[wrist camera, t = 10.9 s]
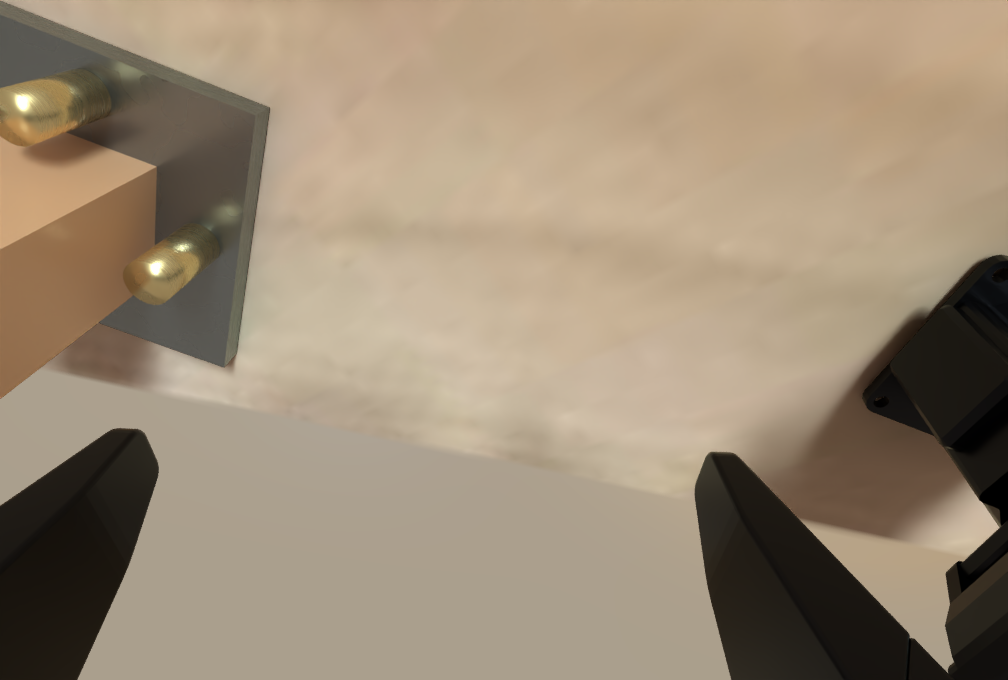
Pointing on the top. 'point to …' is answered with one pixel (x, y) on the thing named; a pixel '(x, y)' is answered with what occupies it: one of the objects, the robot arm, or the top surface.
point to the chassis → (157, 141)
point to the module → (65, 244)
